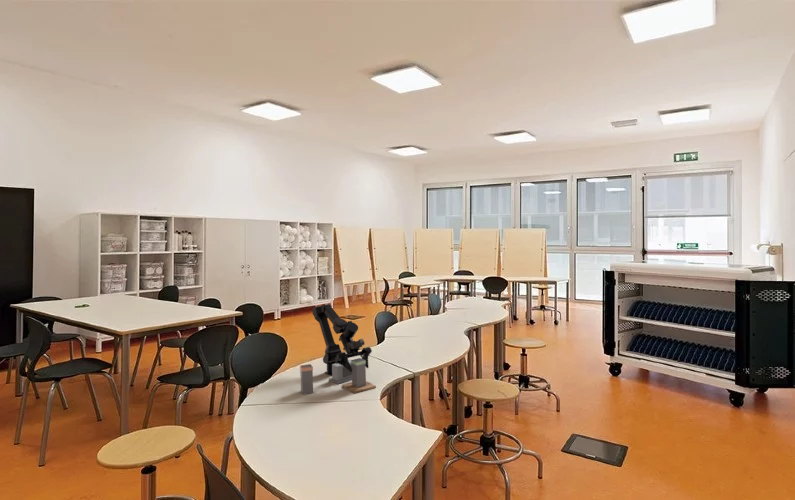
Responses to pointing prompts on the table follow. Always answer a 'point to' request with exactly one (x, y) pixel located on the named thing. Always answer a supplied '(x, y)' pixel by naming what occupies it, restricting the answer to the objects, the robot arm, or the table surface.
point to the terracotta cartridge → (306, 378)
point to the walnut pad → (359, 389)
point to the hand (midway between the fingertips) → (360, 369)
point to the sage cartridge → (358, 372)
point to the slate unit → (340, 373)
